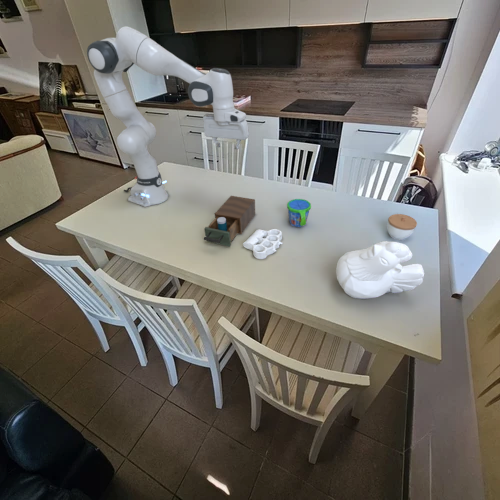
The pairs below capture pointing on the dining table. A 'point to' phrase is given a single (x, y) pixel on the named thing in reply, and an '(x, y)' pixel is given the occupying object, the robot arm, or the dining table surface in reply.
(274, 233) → the white brass knuckles
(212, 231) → the drawer
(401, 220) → the trinket box
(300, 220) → the snack cup
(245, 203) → the cabinet
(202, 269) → the dining table surface
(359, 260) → the decorative rooster
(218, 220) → the salt shaker
